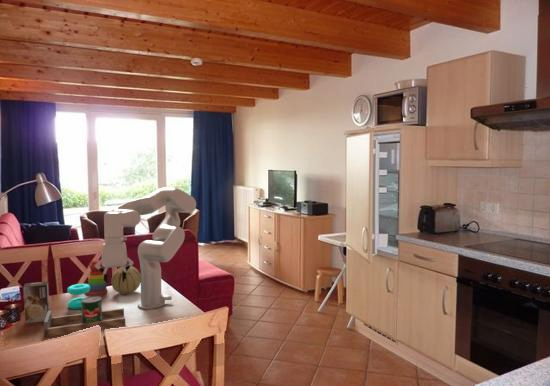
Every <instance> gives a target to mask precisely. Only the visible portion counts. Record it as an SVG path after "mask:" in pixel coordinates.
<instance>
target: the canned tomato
mask: <svg viewBox="0 0 550 386" xmlns="http://www.w3.org/2000/svg"><path fill="white" fill-rule="evenodd" d="M102 306H103V305H102V296H87V297H86V298H84V299H82V300H81V307H82V308H81V314H82V321H81V323H89V322H96V321H103V319H102V311H103V310H102V309H103V308H102Z"/></svg>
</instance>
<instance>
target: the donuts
mask: <svg viewBox="0 0 550 386" xmlns="http://www.w3.org/2000/svg"><path fill="white" fill-rule="evenodd" d="M89 290H90V285H88V283H76V284H72V285H70V286H68V287H67V293H68V294H70V295H72V296H80V295H85V293H87V292H88V291H89ZM84 298H87V297H86V296H85V297H84V296H80V297H75V298H71V299H70V300H69V301H68V302H67V307H68V308H69V309H72V310H79V309H81V310H82V307H81V300H82V299H84Z"/></svg>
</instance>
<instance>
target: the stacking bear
mask: <svg viewBox="0 0 550 386" xmlns="http://www.w3.org/2000/svg"><path fill="white" fill-rule="evenodd" d="M100 260H101V259H100ZM100 260H99V259H98V260H97V259H95V260H93V261H92V262H91V263H90V264H89V268H90V273H89V275H88V279H87V284H88V285H90V290H89V291H88V292H87V293H85V294H84V295H86V296H87V297H92V296H99V297H102V296H104V295H107V293H108V291H109V290H108V289H107V286H108V283H106V281H104V274H103V273H102V272H101V271H99V270H98V269H97V268H96V267H95V265H96V264H97V263H98V262H99V261H100ZM100 267H102V268H103V269H104V267H103V266H102V263H101V264H100Z"/></svg>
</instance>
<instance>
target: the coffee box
mask: <svg viewBox="0 0 550 386" xmlns="http://www.w3.org/2000/svg"><path fill="white" fill-rule="evenodd" d="M22 289H23V306H24V323H26V324H32V323H38V322H39V323H41V322H44V321H45V318H46V315H47V313H48V311H51V310H50V294H49V281H47V280H46V281H36V282H28V283H24V285H23V288H22Z"/></svg>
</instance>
